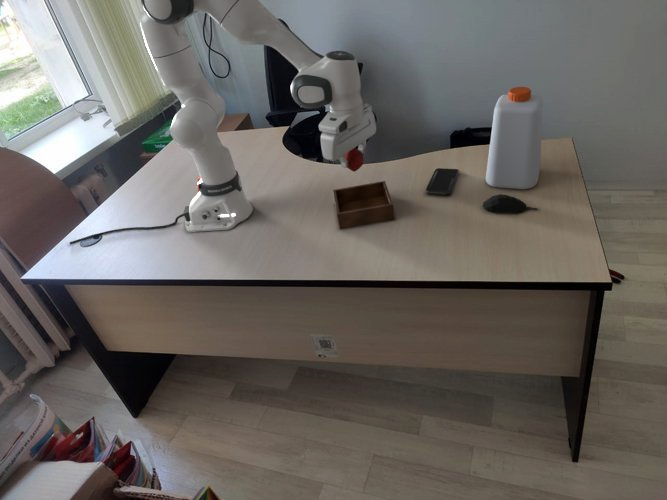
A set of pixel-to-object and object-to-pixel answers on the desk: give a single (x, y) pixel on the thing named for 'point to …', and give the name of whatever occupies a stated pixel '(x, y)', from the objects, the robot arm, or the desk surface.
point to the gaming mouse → (505, 204)
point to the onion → (354, 159)
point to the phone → (442, 182)
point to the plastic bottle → (515, 140)
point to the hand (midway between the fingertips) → (353, 161)
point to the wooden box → (363, 205)
